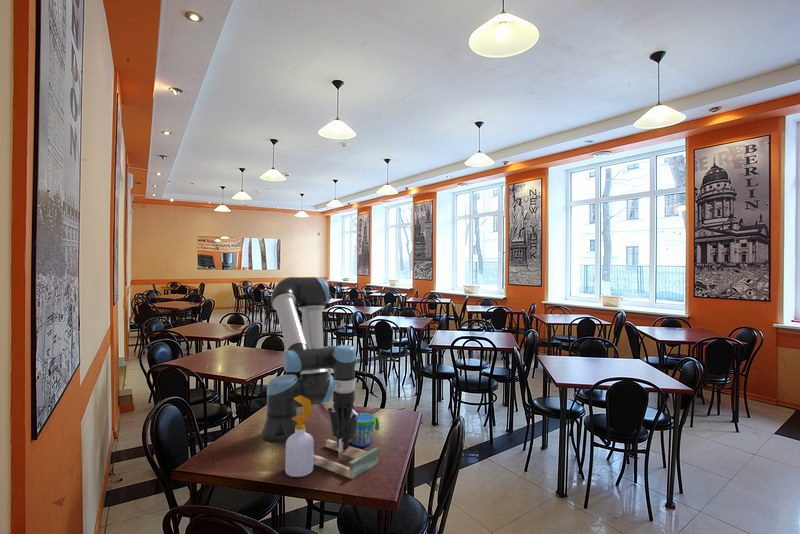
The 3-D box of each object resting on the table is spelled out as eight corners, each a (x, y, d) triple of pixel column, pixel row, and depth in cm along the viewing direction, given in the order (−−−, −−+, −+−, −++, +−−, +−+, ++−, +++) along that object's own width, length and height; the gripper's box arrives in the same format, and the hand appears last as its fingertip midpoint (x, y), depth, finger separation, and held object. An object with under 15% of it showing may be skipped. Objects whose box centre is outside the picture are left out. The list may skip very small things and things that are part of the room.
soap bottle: (296, 462, 142) (297, 391, 142) (318, 467, 138) (319, 395, 139) (279, 474, 134) (281, 399, 134) (302, 480, 130) (304, 402, 130)
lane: (300, 459, 145) (300, 444, 145) (328, 445, 156) (328, 432, 156) (352, 479, 131) (353, 463, 131) (378, 462, 143) (378, 448, 143)
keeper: (339, 466, 140) (339, 453, 140) (350, 459, 145) (350, 446, 145) (354, 472, 136) (355, 458, 137) (366, 465, 141) (366, 452, 142)
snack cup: (372, 434, 167) (372, 409, 168) (385, 443, 159) (386, 417, 159) (337, 442, 159) (337, 416, 159) (349, 453, 150) (349, 425, 150)
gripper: (322, 389, 144) (321, 456, 143) (351, 396, 136) (349, 467, 136) (337, 384, 150) (336, 449, 150) (365, 391, 143) (363, 458, 142)
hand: (342, 457), depth 143 cm, fingers closed
